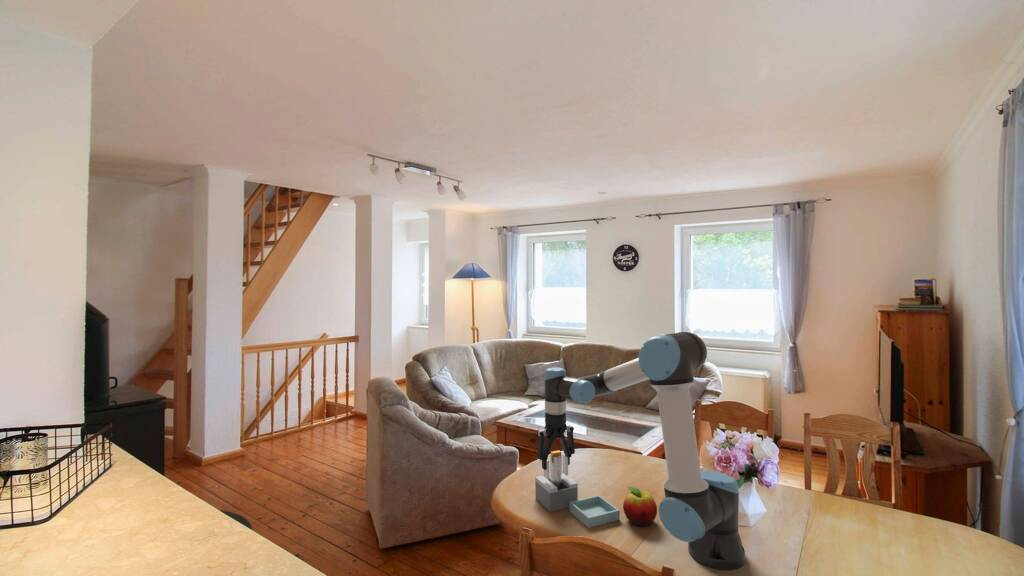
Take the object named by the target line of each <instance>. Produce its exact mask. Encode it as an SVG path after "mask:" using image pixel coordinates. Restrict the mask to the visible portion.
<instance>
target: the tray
mask: <svg viewBox="0 0 1024 576" xmlns="http://www.w3.org/2000/svg"><path fill="white" fill-rule="evenodd" d="M568 509H569V512H570V513H571V514H572V515H573V516H574V517H576V518H577V519H578V521H580V522H581V523H582V524H583V525H585V526H586V527H587V528H588V529H590V528H594V527H597V526H601V525H605V524H606V525H607V524H609V523H613V522H616V521H620V520H621V519H620V518H621V517H620V515H621V514H620V511H621V510H620V509H619V508H617V507H616V506H614V505H613V504H612V503H610V502H609V501H608V500H606V498H604V497H603V496H601V495H600V494H598V495H593V496H589V497H585V498H580V499H578V500H576V501H571V502H569V508H568Z"/></svg>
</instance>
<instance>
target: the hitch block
mask: <svg viewBox="0 0 1024 576" xmlns="http://www.w3.org/2000/svg"><path fill="white" fill-rule="evenodd" d="M534 480H535V484H534V485H535V500H536V501H537V502H538V503H540V505H542V506H543V508H545V509H546V510H547V511H548V512H549V513H553V512H557V511H558V512H559V511H563V510H566V509H569V502H571V501H576V500H579V499H578V498H579V497H578V495H579V493H578V492H579V491H578V489H579V487H578V486H579V484H578V482H576V481H575V480H574V479H572V477H570V476H569V475H567V476H566V475H565V474H563V471H562V489H561V490H558V488H557V487H556V486H555V485H554V484H552V483H551V480H550V477H549V479H548V480H547V479H546V478H545V477H544V475H538V476H535V478H534Z"/></svg>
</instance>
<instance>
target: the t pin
mask: <svg viewBox="0 0 1024 576" xmlns="http://www.w3.org/2000/svg"><path fill="white" fill-rule="evenodd" d="M562 455H563V454H562V451H560V450H558V449H557V450H552V451H550V453H549V456H550V458H549V478H550V480H551V483H552V484H554V485H555V486H556V487H557V488H558V490H561V489H562V472H563V469H562Z"/></svg>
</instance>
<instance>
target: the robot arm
mask: <svg viewBox="0 0 1024 576" xmlns="http://www.w3.org/2000/svg"><path fill="white" fill-rule="evenodd" d="M707 350H708V349H707V345H706V344H705V342H704V339H702V338H701V337H700V336H699V335H698V334H695V333H692V332H689V331H680V332H674V333H668V334H667V333H666V334H659V335H658V334H657V335H656V336H652V337H650V338H648V339H647V340H645V341H644V342H643V344H642V345H641V347H640V349H639V352H638V357H637V358H634V359H631V360H629V361H627V362H624V363H622V364H620V365H619V364H618V365H617V366H613V367H611V368H609V369H606V370H604V371H601V372H598V373H595V374H591V375H586V376H580V377H572V376H568V375H567V371H566V369H565V368H563V367H556V366H555V367H554V366H553V367H548V368H546V369H545V371H544V379H543V381H544V411H545V412H544V423H545V424H544V428H543V429H538V430H537V431H536V433H537V448H536V458H537V459H538V460H540V461H541V469H542V470H543V476H544V477H545V478H546V479H547V480H548V479H549V478H550V459H548V458H549V456H550V453H551V448H552V445H553V443H554V441H555V439H559V442H560V446H561V448H562V451H563V454H561V455H562V472H563V474H565V475H566V476H569V466H570V464H571V458H572V455H574V454H575V453H576V450H575V440H574V429H575V427H573V426H572V425H571V424H568V425H567V400H570V401H573V402H575V403H578V404H589V403H590V402H591V401H592V400H593V399H594V398H595V397H600V396H603V395H610V394H612V393H614V392H616V391H618V390H621V389H624V388H627V387H630V386H632V385H633V386H634V385H636V384H639V383H641V382H645V381H648V380H649V385H650V386H651V387H652V388H653V389H654V390H655V391H656V397H657V404H658V410H659V411H658V412H659V417H660V419H659V420H660V427H661V432H662V441H663V447H664V454H665V455H664V456H665V462H666V470H667V475H668V476H667V479H666V481H664V483H663V490H664V497H665V498H663V499H661V502H660V503H659V505H658V515H659V516H658V517H659V520H660V521H661V524H662V525H663V527H664V528H665V530H667V531H668V532H669V534H670V535H671V536H672V537H673V538H675V539H677V540H679V541H680V542H685V543H687V544H688V545H687V546H688V547H687V549H688V553H689V554H690V556H691V557H692V559H694V560H695V561H697V562H698V563H701V564H702V565H704V566H707V567H710V568H713V569H717V570H718V569H719V570H724V569H727V570H728V571H729V570H730V571H731V570H736V569H739V568H741V567H743V566H744V565H745V563H746V551H745V548H744V546H743V542H742V538H741V536H740V533H739V496H740V492H739V484H738V481H737V480H736V479H735V478H733V476H730V475H729V474H725V473H722V472H720V471H719V472H718V471H714V470H705V469H704V470H701V463H700V458H699V457H700V456H699V455H700V454H699V449H698V444H697V443H698V442H697V435H696V428H695V422H694V420H695V419H694V415H693V413H694V412H693V407H692V401H691V400H692V399H691V392H690V388H691V386H693V384H694V383H695V379H694V372H695V371H698V370H699V369H700V368H702V366H703V365H704V364H705V363H706V360H707V357H708V351H707ZM565 432H566V436H565Z"/></svg>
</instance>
